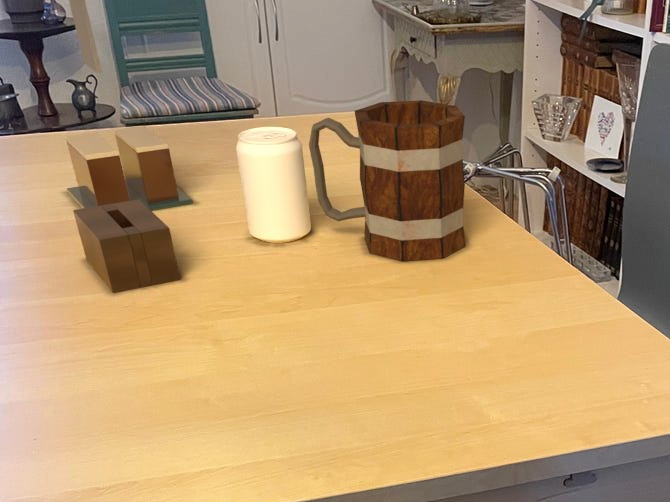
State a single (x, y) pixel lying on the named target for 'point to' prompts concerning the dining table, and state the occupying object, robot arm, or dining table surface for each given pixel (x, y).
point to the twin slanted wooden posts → (138, 165)
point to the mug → (404, 178)
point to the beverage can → (273, 184)
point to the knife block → (127, 245)
